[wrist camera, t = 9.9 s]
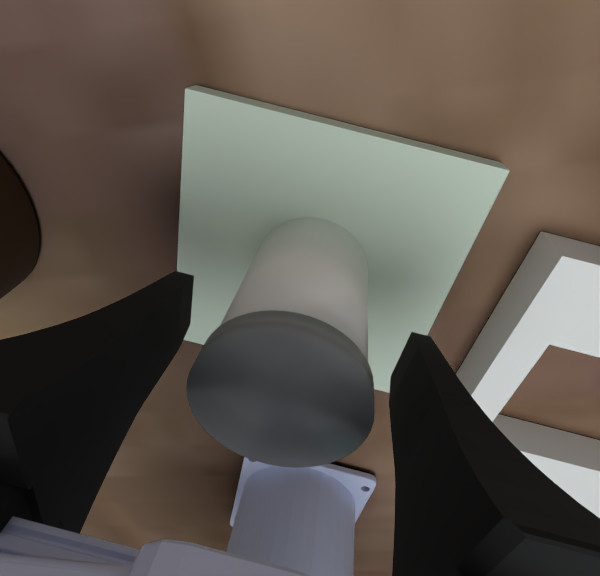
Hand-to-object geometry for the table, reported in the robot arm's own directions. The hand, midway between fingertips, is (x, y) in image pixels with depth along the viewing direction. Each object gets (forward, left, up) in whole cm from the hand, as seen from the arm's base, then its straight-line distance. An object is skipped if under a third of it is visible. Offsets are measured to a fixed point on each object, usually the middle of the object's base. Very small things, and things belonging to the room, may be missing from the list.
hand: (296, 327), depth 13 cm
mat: (0, 0, -5) cm, 5 cm away
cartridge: (0, 0, -4) cm, 4 cm away
